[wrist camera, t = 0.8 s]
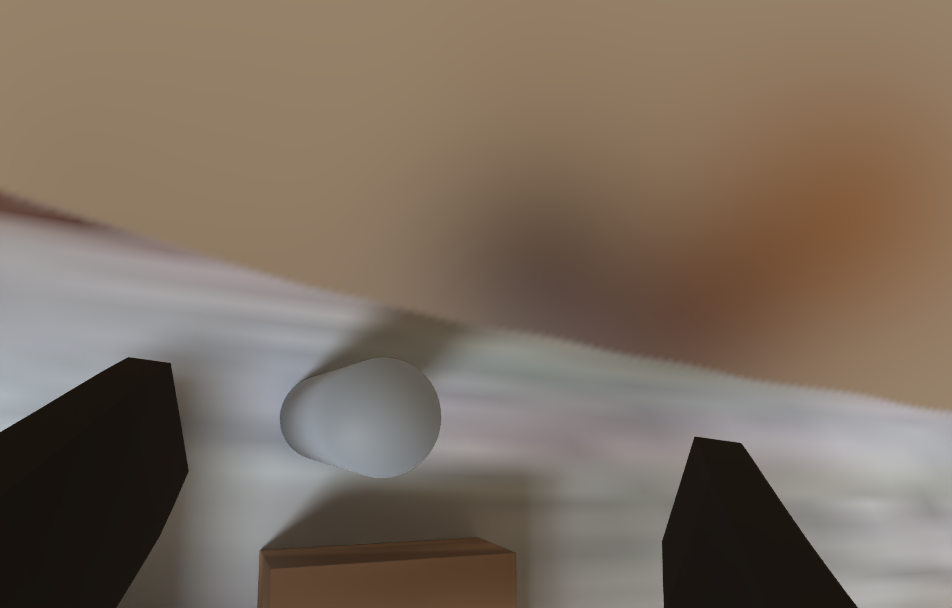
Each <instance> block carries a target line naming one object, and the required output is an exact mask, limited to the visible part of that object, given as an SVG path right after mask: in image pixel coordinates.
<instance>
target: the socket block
mask: <svg viewBox="0 0 952 608" xmlns="http://www.w3.org/2000/svg"><path fill="white" fill-rule="evenodd" d="M257 608H516V553H515V552H512V551H510V550H507V549H505V548H502V547H500V546H497V545H495V544H493V543H490V542H488V541H485V540H483V539H480V538H466V539H448V540H431V541H413V542H396V543H379V544H361V545H344V546H327V547H309V548H292V549H275V550H260V558H259V582H258V605H257Z"/></svg>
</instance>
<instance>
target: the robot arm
mask: <svg viewBox="0 0 952 608" xmlns="http://www.w3.org/2000/svg"><path fill="white" fill-rule="evenodd" d="M188 471H189V470H188V464H187V458H186V452H185V446H184V440H183V434H182V428H181V422H180V416H179V410H178V404H177V398H176V392H175V386H174V380H173V374H172V368H171V363H166V362H159V361H152V360H145V359H137V358H130V357H128V358H126V359H124V360H122V361H121V362H119V363H117V364H115V365H113V366H111V367H109V368H108V369H106V370H104V371H102V372H101V373H99V374H97V375H96V376H94V377H92V378H91V379H89V380H87V381H85V382H84V383H82V384H80V385H79V386H77V387H75V388H74V389H72V390H70V391H69V392H67V393H65V394H64V395H62V396H60V397H59V398H57V399H55V400H54V401H52V402H51V403H49V404H47V405H46V406H44V407H42V408H41V409H39V410H37V411H35V412H34V413H32V414H30V415H29V416H27V417H25V418H24V419H22V420H20V421H18V422H17V423H15V424H13V425H12V426H10V427H8V428H7V429H5V430H3V431H2V432H0V608H116V607H117V605H118V604H119V602H120V601H121V599H122V597H123V596H124V594H125V593H126V591H127V589H128V588H129V586H130V584H131V583H132V581H133V579H134V578H135V576H136V575H137V573H138V571H139V570H140V568H141V566H142V565H143V563H144V561H145V560H146V558H147V556H148V555H149V553H150V551H151V550H152V548H153V546H154V545H155V543H156V541H157V540H158V538H159V536H160V534H161V532H162V530H163V528H164V526H165V523H166V521H167V519H168V517H169V515H170V513H171V511H172V508H173V506H174V504H175V502H176V499H177V497H178V495H179V492H180V490H181V488H182V485H183V483H184V481H185V478H186V476H187V474H188ZM662 558H663V593H664V608H858V607H857V606H856V605H855V603H854V602H853V601H852V599H851V598H850V597H849V596H848V594H847V593H846V592H845V590H844V589H843V588H842V586H841V585H840V584H839V582H838V581H837V579H836V578H835V577H834V575H833V574H832V573H831V571H830V570H829V569H828V567H827V566H826V565H825V563H824V562H823V560H822V559H821V558H820V556H819V555H818V554H817V552H816V551H815V550H814V548H813V547H812V545H811V544H810V543H809V541H808V540H807V538H806V537H805V536H804V534H803V533H802V531H801V530H800V528H799V527H798V526H797V524H796V523H795V521H794V520H793V518H792V517H791V515H790V514H789V513H788V511H787V510H786V508H785V507H784V505H783V504H782V502H781V501H780V499H779V498H778V496H777V495H776V493H775V492H774V490H773V489H772V487H771V486H770V485H769V483H768V482H767V480H766V479H765V477H764V476H763V474H762V473H761V471H760V470H759V468H758V467H757V465H756V464H755V462H754V461H753V459H752V458H751V456H750V455H749V453H748V452H747V450H746V449H745V448H744V446H743V445H742V444H741V443H737V442H729V441H722V440H715V439H708V438H701V437H694V440H693V444H692V447H691V450H690V453H689V456H688V460H687V463H686V466H685V469H684V473H683V476H682V479H681V482H680V485H679V489H678V492H677V495H676V498H675V502H674V505H673V508H672V511H671V514H670V518H669V521H668V524H667V527H666V531H665V534H664V537H663V540H662Z"/></svg>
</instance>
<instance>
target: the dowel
mask: <svg viewBox="0 0 952 608" xmlns="http://www.w3.org/2000/svg"><path fill="white" fill-rule="evenodd" d="M280 425H281V430H282V433H283V436H284V438H285V440H286V441H287V443H288V444H289V445H290V446H291V448H293V449H294V450H295V451H296V452H297V453H299V454H301V455H303V456H305V457H307V458H310V459H314V460H317V461H320V462H323V463H326V464H329V465H333V466H336V467H339V468H342V469H345V470H349V471H352V472H355V473H358V474H361V475H364V476H368V477H373V478H391V477H395V476H399V475H402V474H404V473H406V472H408V471H410V470H412V469H413V468H415V467H416V466H418V465H419V464H420V463H421V462H422V461H423V460H424V459H425V458H426V457H427V456H428V454H429V453H430V451H431V450H432V448H433V447H434V444H435V442H436V440H437V437H438V434H439V430H440V425H441V409H440V403H439V399H438V396H437V393H436V391H435V389H434V387H433V386H432V384H431V382H430V381H429V380H428V378H427V377H426V376H425V375H424V374H423V373H422V372H421V371H420V370H419V369H417V368H416V367H414V366H413V365H411V364H409V363H407V362H405V361H402V360H399V359H395V358H387V357H381V358H373V359H368V360H365V361H362V362H359V363H356V364H352V365H349V366H346V367H343V368H339V369H336V370H333V371H330V372H327V373H323V374H320V375H317V376H314V377H311V378H308V379H305V380H303V381H301V382H300V383H298V384H297V385H296V386H295V387H293V389H292V390H291V391H290V392H289V393H288V395H287V396H286V398H285V400H284V402H283V405H282V408H281V412H280Z"/></svg>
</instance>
